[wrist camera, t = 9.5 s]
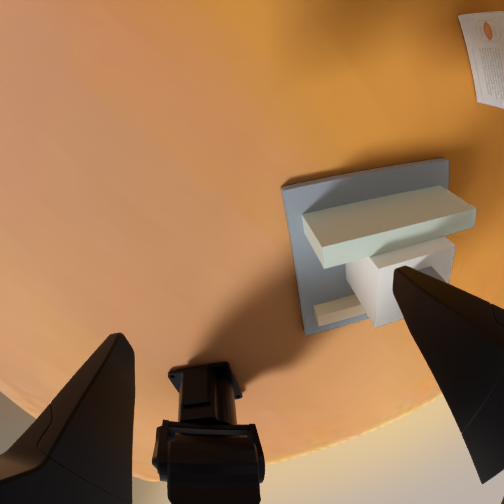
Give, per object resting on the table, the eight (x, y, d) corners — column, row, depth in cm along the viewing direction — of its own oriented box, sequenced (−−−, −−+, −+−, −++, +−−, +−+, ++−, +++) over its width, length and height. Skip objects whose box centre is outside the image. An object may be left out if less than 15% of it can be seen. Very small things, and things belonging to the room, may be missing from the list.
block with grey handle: (407, 261, 24) (472, 339, 16) (345, 278, 24) (398, 372, 16) (410, 208, 22) (492, 279, 13) (342, 224, 22) (410, 313, 13)
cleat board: (431, 291, 28) (458, 325, 23) (304, 330, 28) (318, 375, 23) (443, 157, 21) (488, 179, 16) (280, 187, 21) (300, 219, 16)
